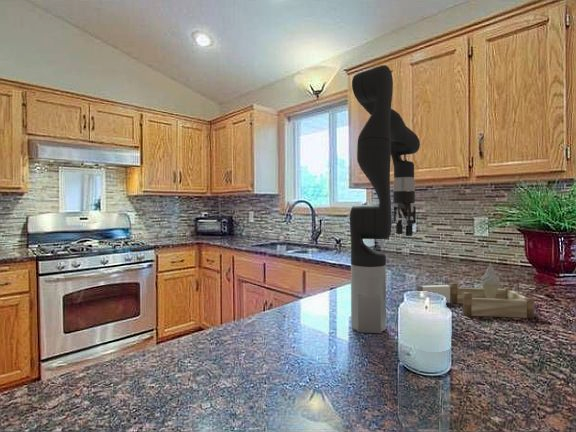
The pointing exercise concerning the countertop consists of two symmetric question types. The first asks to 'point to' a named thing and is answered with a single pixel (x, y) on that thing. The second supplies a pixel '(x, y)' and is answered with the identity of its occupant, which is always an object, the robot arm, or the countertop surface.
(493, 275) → the ice cream cone
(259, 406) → the countertop surface
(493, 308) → the shallow wooden tray
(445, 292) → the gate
